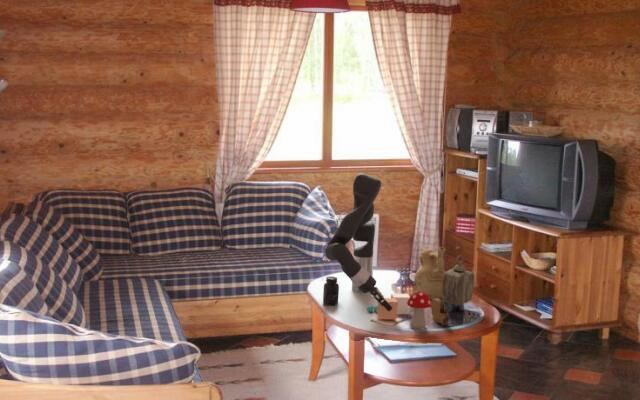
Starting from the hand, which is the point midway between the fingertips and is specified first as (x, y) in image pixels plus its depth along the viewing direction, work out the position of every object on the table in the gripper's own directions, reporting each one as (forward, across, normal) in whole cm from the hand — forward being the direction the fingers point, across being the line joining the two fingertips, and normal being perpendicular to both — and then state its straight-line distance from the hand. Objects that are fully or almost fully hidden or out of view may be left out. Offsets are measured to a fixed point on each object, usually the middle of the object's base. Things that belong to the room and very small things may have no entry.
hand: (389, 307), depth 310 cm
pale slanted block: (+9, -11, +1) cm, 15 cm away
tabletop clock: (+28, -15, +20) cm, 38 cm away
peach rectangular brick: (+2, 0, -4) cm, 4 cm away
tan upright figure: (+24, -37, +16) cm, 47 cm away
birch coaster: (+4, 0, -4) cm, 6 cm away
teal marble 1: (0, -12, -8) cm, 14 cm away
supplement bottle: (-11, -23, -20) cm, 32 cm away
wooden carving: (+19, +2, +11) cm, 22 cm away
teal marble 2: (+2, -12, -6) cm, 13 cm away
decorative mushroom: (+12, +8, +3) cm, 15 cm away
